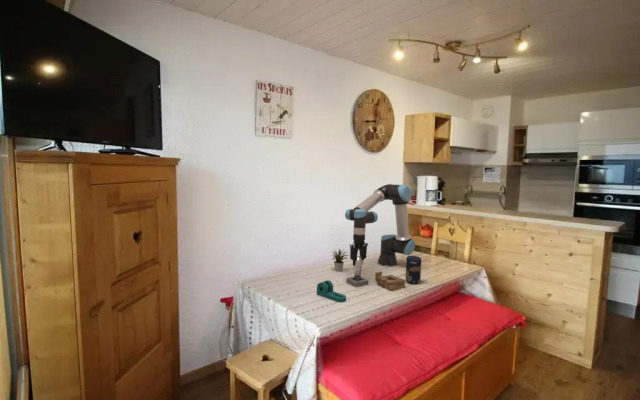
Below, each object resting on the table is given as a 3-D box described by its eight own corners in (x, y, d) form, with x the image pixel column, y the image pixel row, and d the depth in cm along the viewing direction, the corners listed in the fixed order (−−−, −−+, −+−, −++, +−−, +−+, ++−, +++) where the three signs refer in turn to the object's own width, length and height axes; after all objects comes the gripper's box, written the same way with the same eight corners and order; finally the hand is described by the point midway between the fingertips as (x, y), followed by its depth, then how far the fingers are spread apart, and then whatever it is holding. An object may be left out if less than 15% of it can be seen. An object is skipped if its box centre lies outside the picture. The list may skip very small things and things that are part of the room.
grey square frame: (346, 282, 213) (346, 278, 213) (358, 280, 218) (358, 275, 218) (355, 287, 204) (356, 282, 204) (368, 284, 210) (368, 280, 210)
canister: (420, 281, 221) (421, 254, 219) (419, 285, 212) (421, 258, 210) (405, 279, 224) (407, 253, 222) (404, 283, 215) (406, 256, 213)
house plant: (337, 275, 228) (338, 251, 226) (324, 270, 238) (325, 248, 237) (351, 271, 237) (352, 249, 236) (338, 266, 247) (339, 245, 246)
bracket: (316, 294, 191) (317, 281, 190) (324, 291, 196) (324, 278, 195) (341, 303, 179) (341, 289, 178) (348, 300, 184) (349, 286, 183)
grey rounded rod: (352, 280, 212) (353, 256, 210) (357, 280, 214) (358, 255, 213) (356, 282, 208) (357, 258, 207) (361, 281, 211) (362, 257, 209)
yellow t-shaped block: (374, 280, 217) (375, 272, 217) (379, 279, 220) (380, 271, 219) (385, 284, 209) (385, 276, 209) (390, 283, 212) (390, 275, 211)
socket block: (377, 284, 210) (377, 277, 210) (390, 282, 217) (391, 274, 216) (390, 291, 200) (391, 283, 200) (404, 287, 206) (405, 280, 206)
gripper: (352, 235, 201) (350, 273, 203) (373, 233, 210) (371, 269, 212) (345, 233, 207) (343, 270, 209) (365, 231, 216) (364, 266, 218)
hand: (357, 269), depth 211 cm, fingers closed on grey rounded rod, 4 cm apart
